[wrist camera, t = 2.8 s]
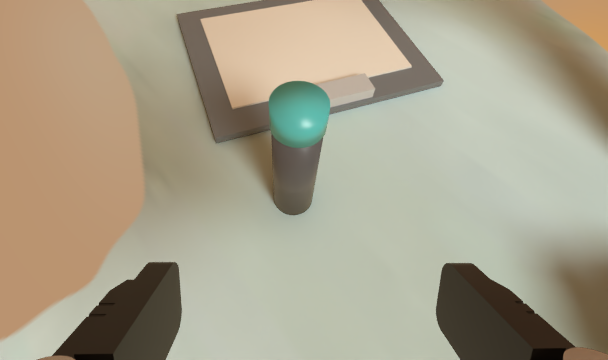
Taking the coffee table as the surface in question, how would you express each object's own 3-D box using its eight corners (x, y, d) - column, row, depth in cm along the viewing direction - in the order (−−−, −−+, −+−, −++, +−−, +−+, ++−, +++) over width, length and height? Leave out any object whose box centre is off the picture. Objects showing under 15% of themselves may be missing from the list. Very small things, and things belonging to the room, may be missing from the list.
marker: (304, 175, 31) (316, 75, 20) (319, 208, 29) (340, 117, 19) (267, 186, 30) (260, 87, 20) (280, 221, 28) (280, 133, 18)
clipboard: (364, -11, 47) (367, -25, 45) (440, 85, 38) (448, 72, 36) (178, 20, 41) (173, 4, 39) (216, 143, 32) (212, 130, 30)
